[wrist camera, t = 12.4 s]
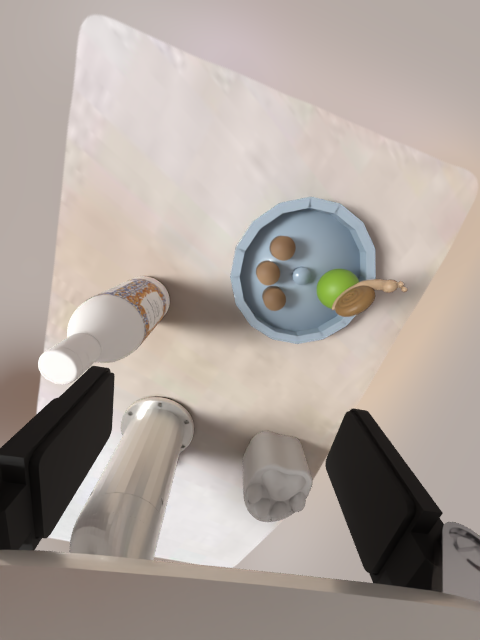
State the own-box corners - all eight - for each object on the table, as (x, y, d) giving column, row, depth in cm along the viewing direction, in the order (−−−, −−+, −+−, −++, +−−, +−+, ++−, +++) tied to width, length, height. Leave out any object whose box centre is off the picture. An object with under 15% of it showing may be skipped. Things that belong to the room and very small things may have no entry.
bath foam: (175, 317, 38) (117, 402, 20) (130, 323, 39) (31, 412, 20) (164, 272, 36) (88, 318, 17) (117, 278, 36) (-10, 331, 17)
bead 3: (279, 307, 37) (282, 312, 35) (260, 303, 37) (261, 308, 34) (285, 287, 36) (288, 291, 34) (264, 283, 36) (266, 287, 34)
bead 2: (274, 283, 36) (276, 287, 34) (253, 279, 36) (254, 283, 33) (279, 262, 35) (282, 265, 33) (258, 258, 35) (260, 260, 32)
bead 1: (288, 260, 35) (292, 262, 32) (267, 256, 35) (269, 258, 32) (294, 238, 34) (298, 238, 32) (272, 233, 34) (275, 233, 31)
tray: (339, 344, 40) (346, 352, 38) (221, 322, 39) (220, 329, 36) (386, 218, 34) (398, 217, 32) (247, 185, 33) (248, 182, 30)
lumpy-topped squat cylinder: (307, 439, 47) (323, 483, 39) (283, 488, 51) (293, 537, 43) (254, 427, 46) (258, 470, 38) (234, 478, 50) (234, 526, 42)
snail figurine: (362, 281, 36) (421, 305, 25) (326, 310, 37) (365, 345, 26) (341, 252, 35) (392, 263, 23) (303, 283, 36) (335, 308, 25)
